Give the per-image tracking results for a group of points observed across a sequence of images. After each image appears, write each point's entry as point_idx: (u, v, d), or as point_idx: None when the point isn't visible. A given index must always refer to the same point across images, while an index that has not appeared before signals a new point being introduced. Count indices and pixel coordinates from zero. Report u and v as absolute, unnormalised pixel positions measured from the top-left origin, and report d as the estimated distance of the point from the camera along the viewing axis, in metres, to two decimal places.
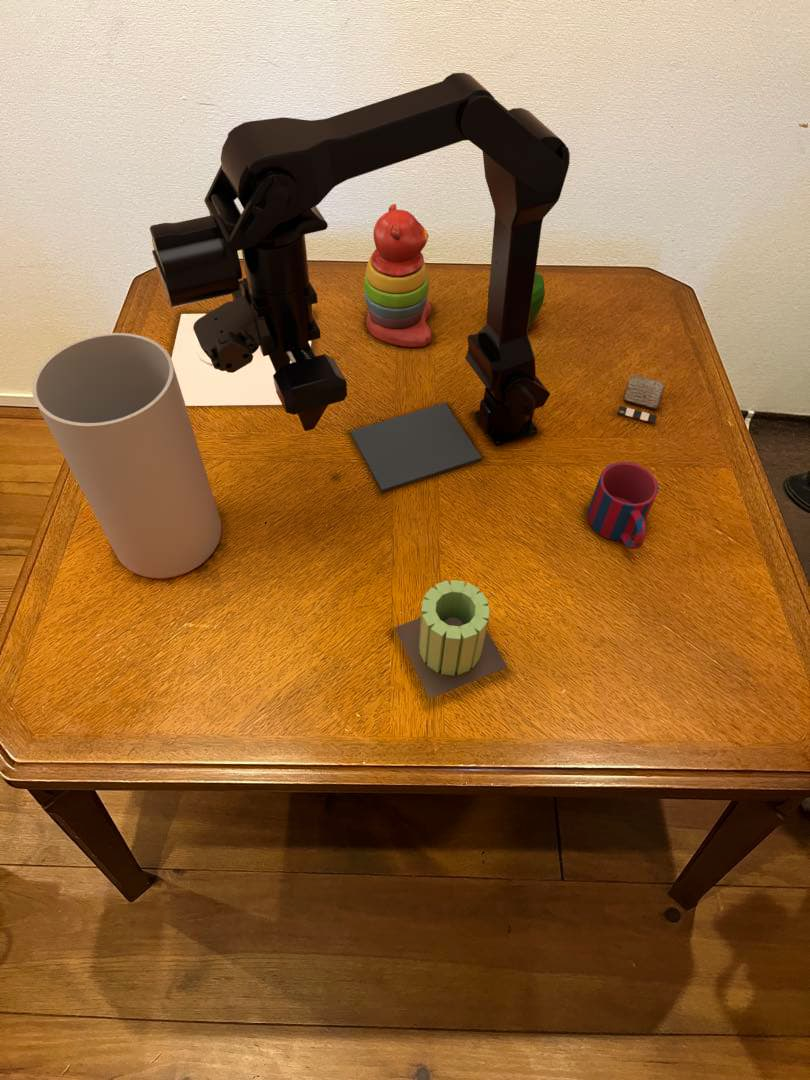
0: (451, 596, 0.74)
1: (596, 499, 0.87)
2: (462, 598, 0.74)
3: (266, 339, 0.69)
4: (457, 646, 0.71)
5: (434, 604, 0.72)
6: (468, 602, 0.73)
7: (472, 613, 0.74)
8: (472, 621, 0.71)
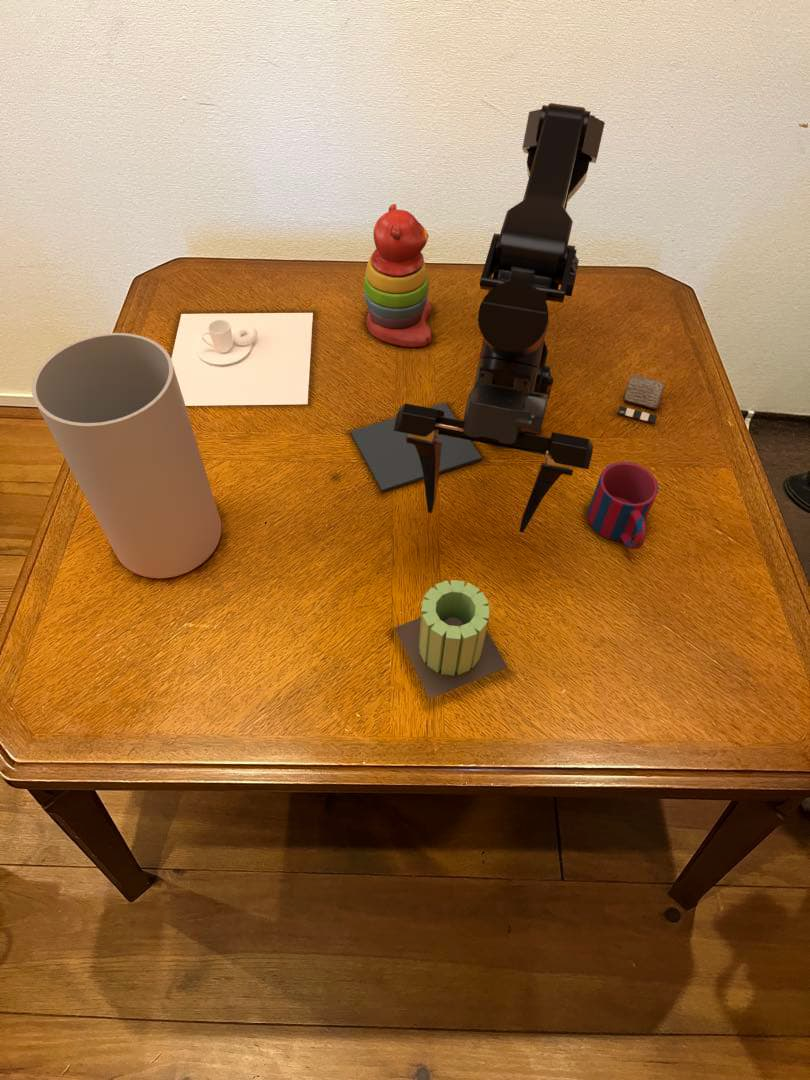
0: (451, 596, 0.74)
1: (596, 499, 0.87)
2: (462, 598, 0.74)
3: None
4: (457, 646, 0.71)
5: (434, 604, 0.72)
6: (468, 602, 0.73)
7: (472, 613, 0.74)
8: (472, 621, 0.71)
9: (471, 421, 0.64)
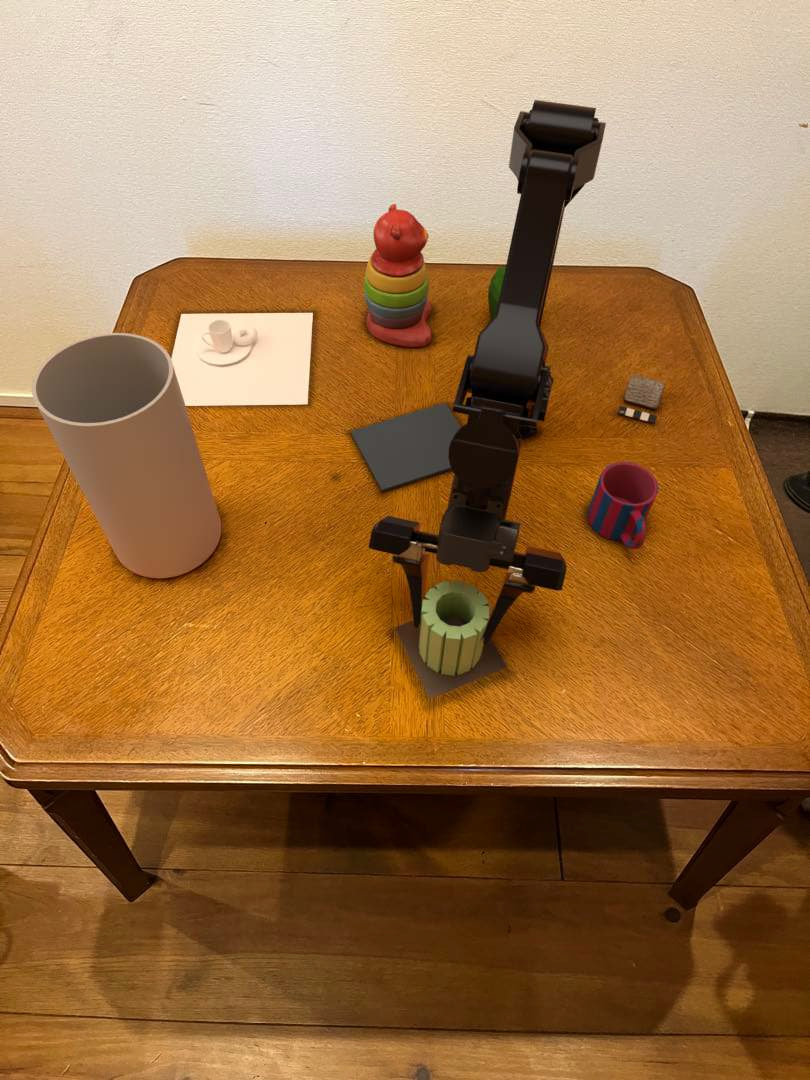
0: (452, 596, 0.74)
1: (596, 499, 0.87)
2: (462, 598, 0.74)
3: None
4: (457, 646, 0.71)
5: (434, 604, 0.72)
6: (468, 602, 0.73)
7: (472, 613, 0.74)
8: (472, 621, 0.71)
9: (443, 550, 0.64)
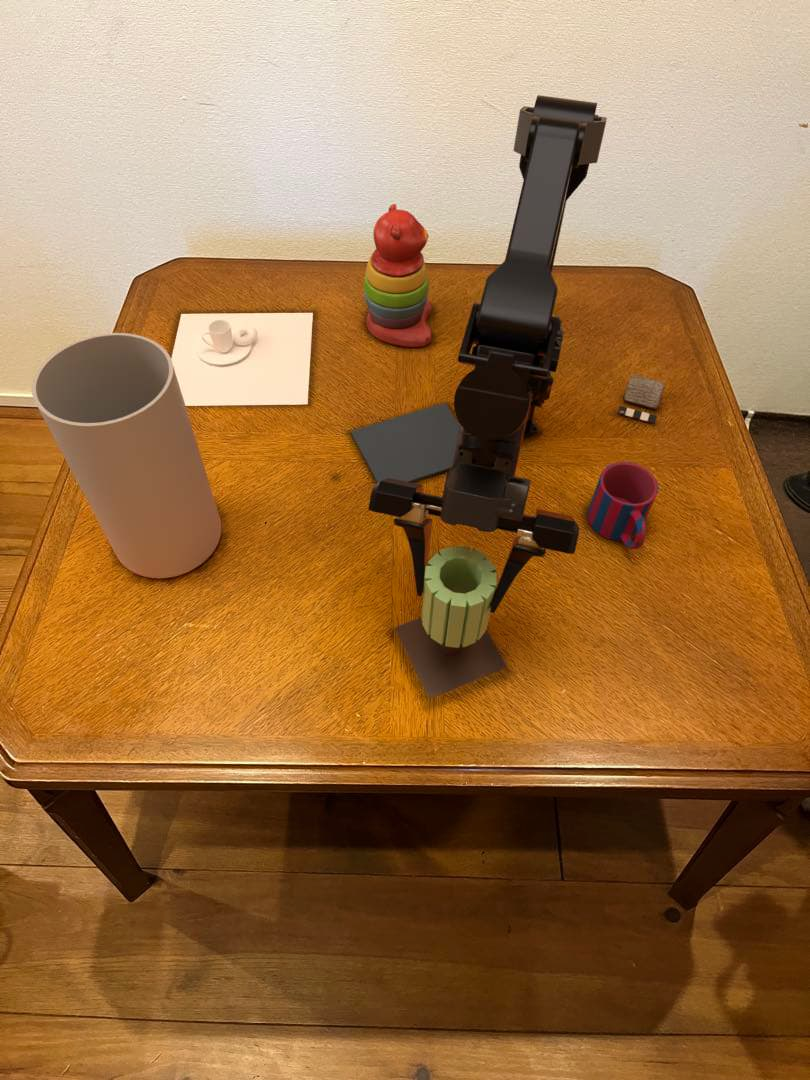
0: (456, 562, 0.69)
1: (596, 499, 0.87)
2: (468, 565, 0.69)
3: None
4: (462, 615, 0.67)
5: (438, 570, 0.68)
6: (474, 569, 0.69)
7: (478, 581, 0.69)
8: (478, 588, 0.67)
9: (448, 508, 0.60)
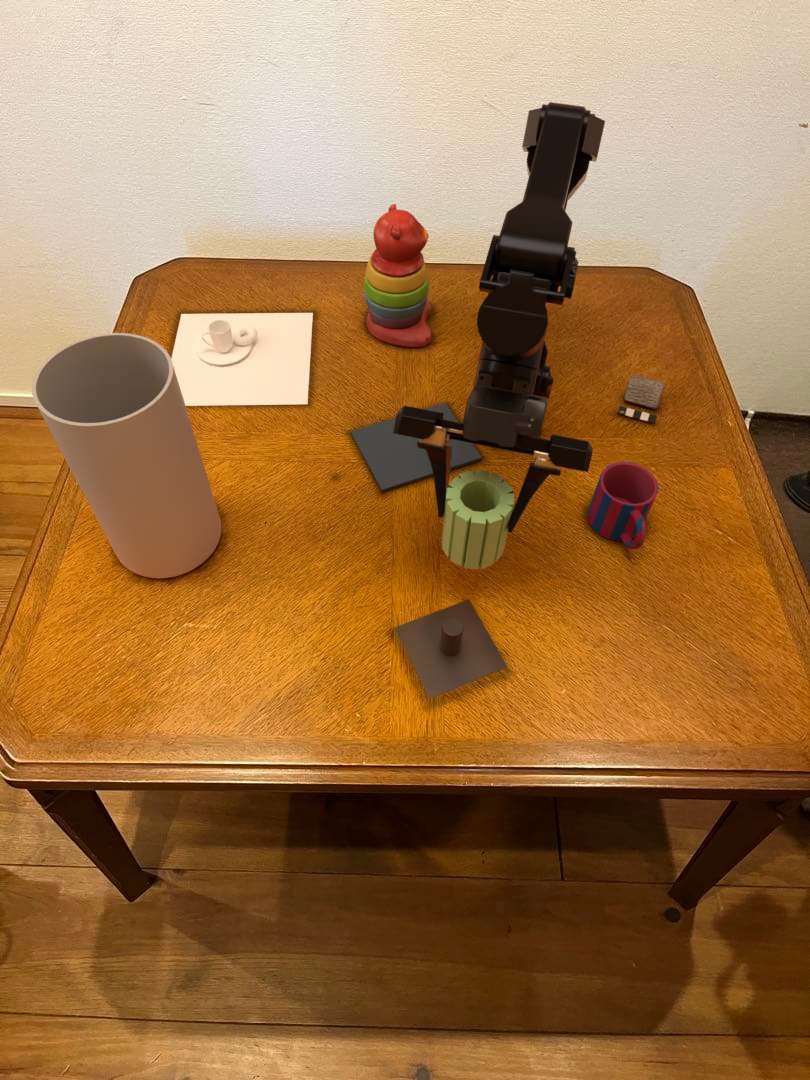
0: (475, 486, 0.73)
1: (596, 499, 0.87)
2: (486, 488, 0.73)
3: None
4: (482, 532, 0.71)
5: (458, 492, 0.72)
6: (492, 492, 0.73)
7: (496, 503, 0.73)
8: (497, 507, 0.71)
9: (470, 424, 0.64)
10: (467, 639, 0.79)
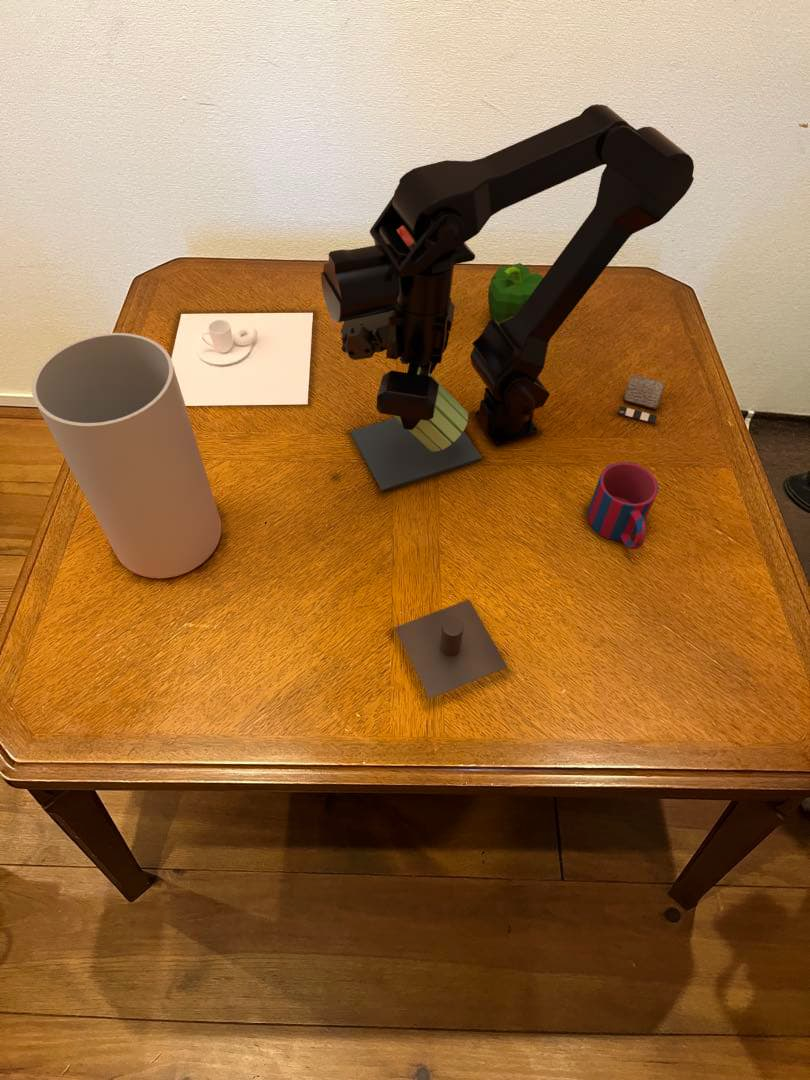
0: None
1: (596, 499, 0.87)
2: None
3: (391, 345, 0.79)
4: None
5: None
6: None
7: None
8: None
9: None
10: (467, 639, 0.79)
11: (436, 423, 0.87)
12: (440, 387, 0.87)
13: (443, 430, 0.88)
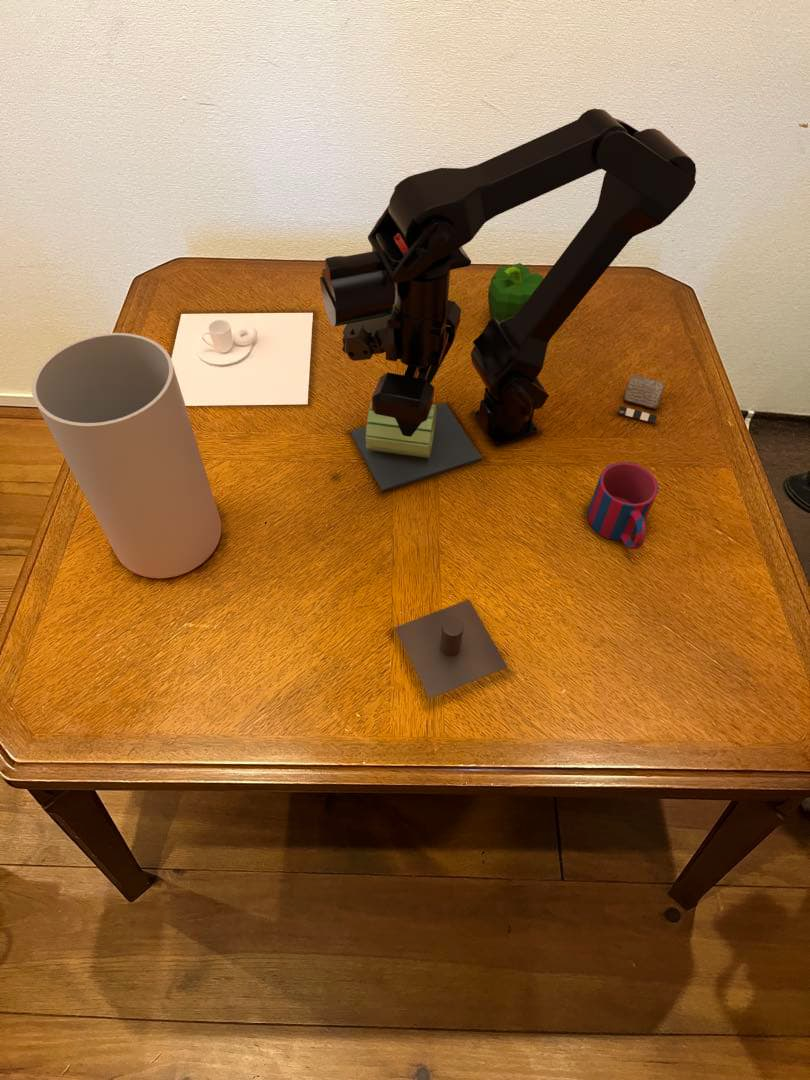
0: None
1: (596, 499, 0.87)
2: None
3: (390, 347, 0.81)
4: None
5: None
6: None
7: None
8: None
9: None
10: (467, 639, 0.79)
11: (401, 438, 0.91)
12: None
13: (412, 440, 0.91)
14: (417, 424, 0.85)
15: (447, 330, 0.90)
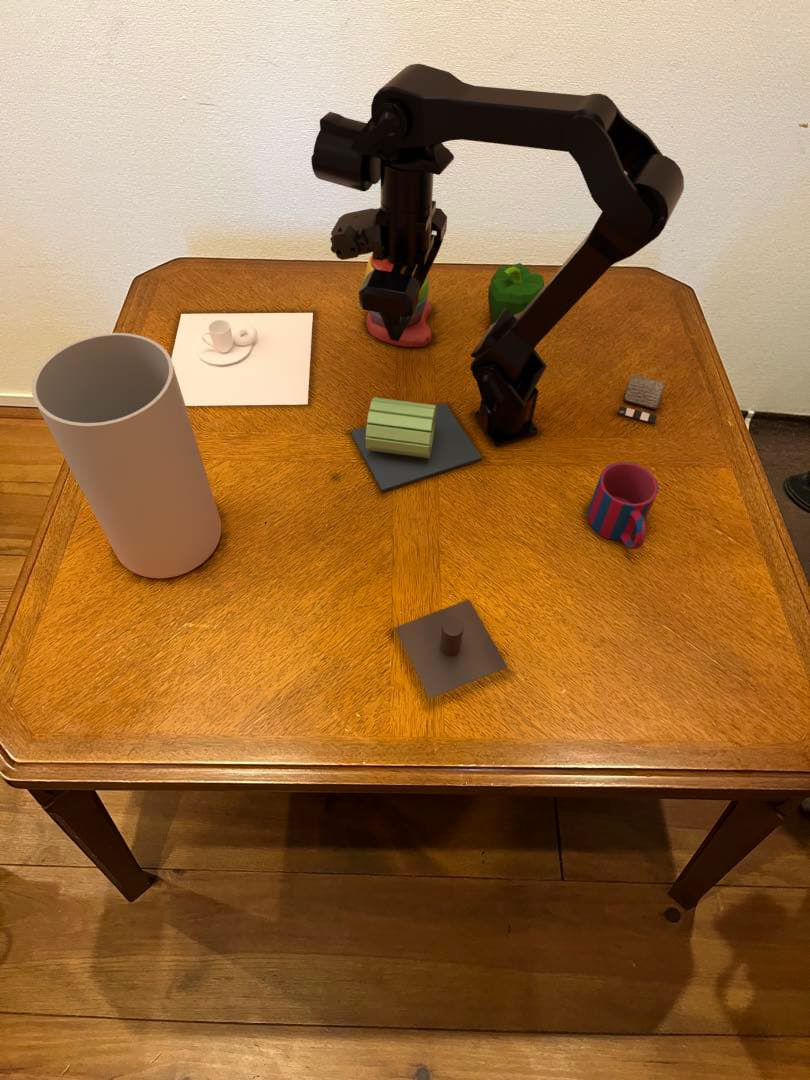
0: None
1: (596, 499, 0.87)
2: None
3: (377, 245, 0.83)
4: None
5: None
6: None
7: None
8: None
9: None
10: (467, 639, 0.79)
11: (401, 439, 0.91)
12: (391, 406, 0.91)
13: (411, 440, 0.91)
14: (404, 325, 0.88)
15: (434, 238, 0.92)
